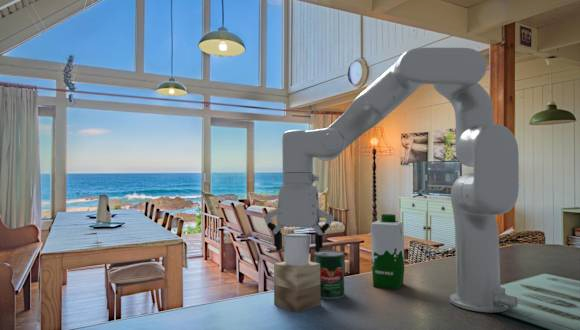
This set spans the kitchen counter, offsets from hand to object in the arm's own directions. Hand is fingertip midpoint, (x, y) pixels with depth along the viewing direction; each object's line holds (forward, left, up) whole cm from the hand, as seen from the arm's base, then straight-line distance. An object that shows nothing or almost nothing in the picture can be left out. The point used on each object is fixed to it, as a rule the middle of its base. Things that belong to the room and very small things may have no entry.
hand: (298, 250), depth 91 cm
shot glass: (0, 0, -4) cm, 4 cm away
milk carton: (0, -31, -13) cm, 34 cm away
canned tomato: (+2, -11, -13) cm, 18 cm away
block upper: (0, 0, -8) cm, 8 cm away
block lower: (0, 0, -13) cm, 13 cm away
